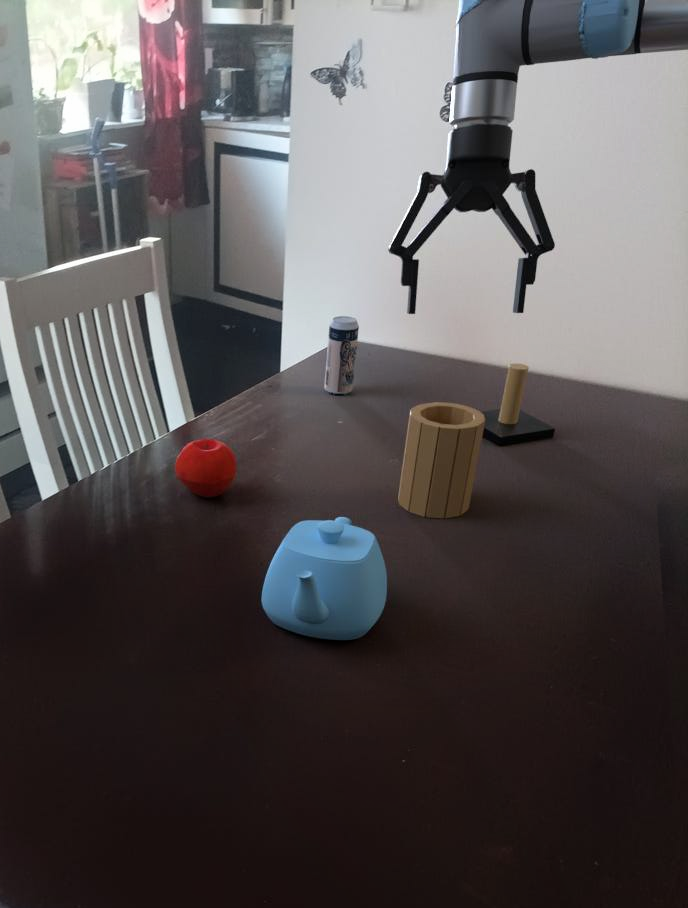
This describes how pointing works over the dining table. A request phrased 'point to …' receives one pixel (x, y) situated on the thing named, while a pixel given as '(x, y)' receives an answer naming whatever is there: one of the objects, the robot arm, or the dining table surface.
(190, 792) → the dining table surface
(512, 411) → the peg stand
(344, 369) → the beer can
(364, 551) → the teapot
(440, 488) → the wooden cup
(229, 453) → the apple
